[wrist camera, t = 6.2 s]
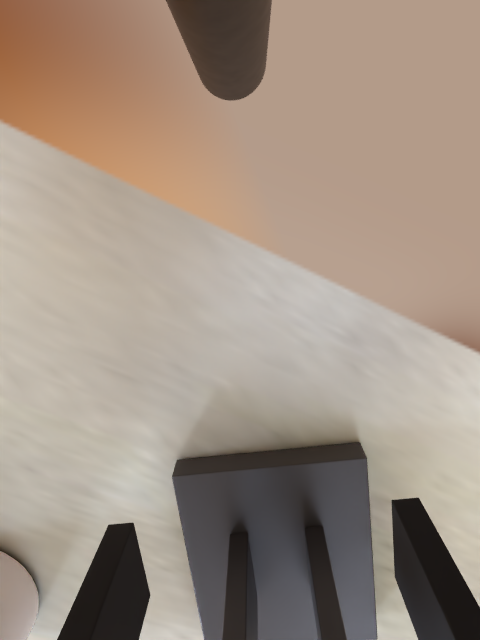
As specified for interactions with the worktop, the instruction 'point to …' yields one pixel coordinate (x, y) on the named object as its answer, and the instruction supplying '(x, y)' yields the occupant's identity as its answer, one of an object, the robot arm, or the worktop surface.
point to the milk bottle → (16, 600)
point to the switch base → (280, 543)
